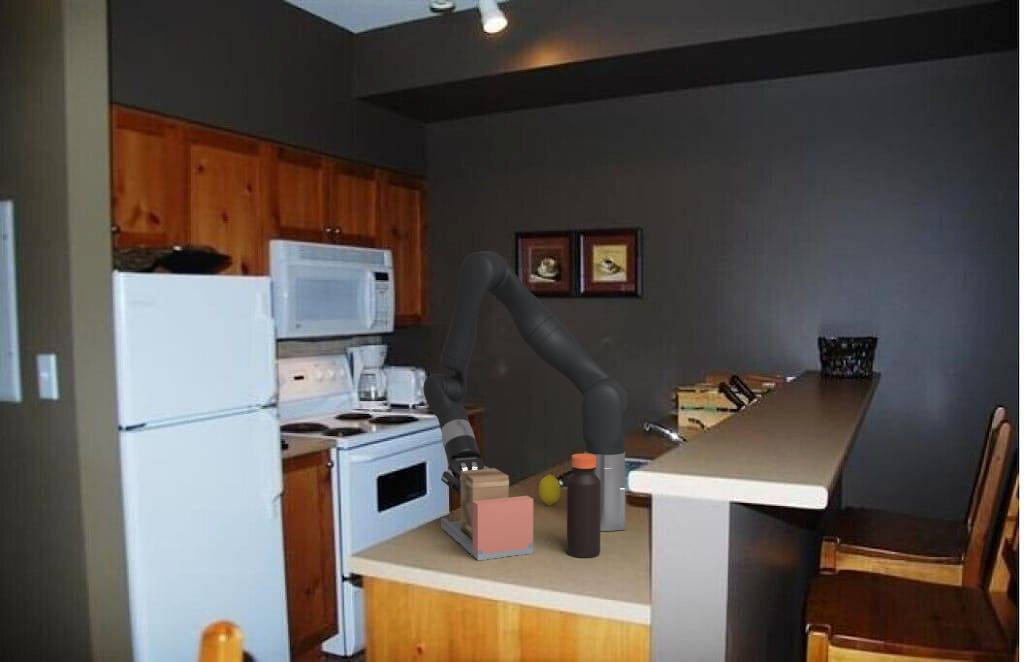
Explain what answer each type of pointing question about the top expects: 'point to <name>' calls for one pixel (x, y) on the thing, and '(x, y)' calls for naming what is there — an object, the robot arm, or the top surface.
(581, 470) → the bottle
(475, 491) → the crate
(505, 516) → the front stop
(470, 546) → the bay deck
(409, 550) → the top surface
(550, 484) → the lemon
